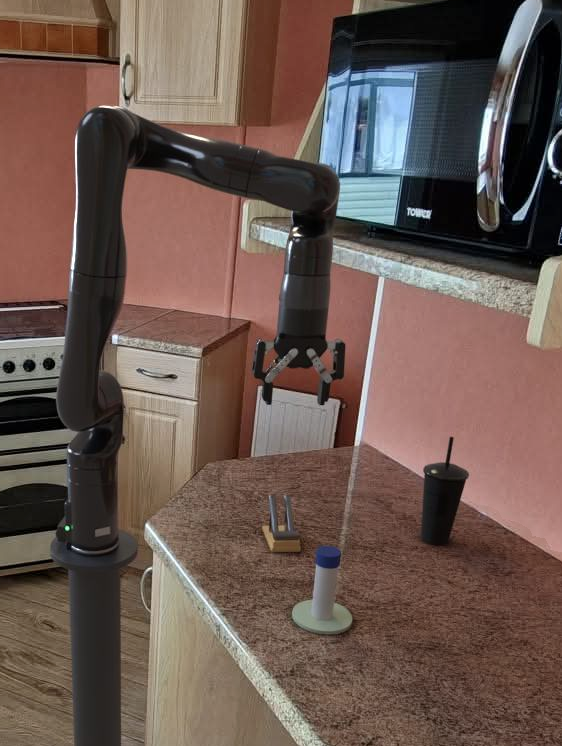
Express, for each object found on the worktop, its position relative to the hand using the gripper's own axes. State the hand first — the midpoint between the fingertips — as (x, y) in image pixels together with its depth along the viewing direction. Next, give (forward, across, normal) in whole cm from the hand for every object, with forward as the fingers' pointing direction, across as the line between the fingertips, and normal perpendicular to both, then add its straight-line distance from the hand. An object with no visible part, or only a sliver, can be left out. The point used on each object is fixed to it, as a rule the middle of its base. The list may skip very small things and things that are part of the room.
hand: (294, 403), depth 128 cm
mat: (+28, +3, -19) cm, 34 cm away
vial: (+26, +3, -15) cm, 30 cm away
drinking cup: (+28, +30, +7) cm, 42 cm away
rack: (+29, +2, +7) cm, 30 cm away
